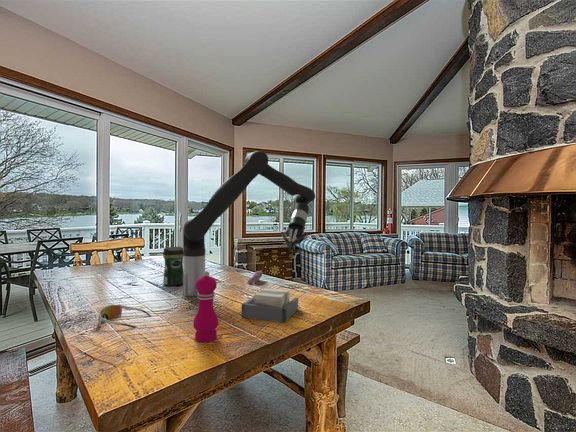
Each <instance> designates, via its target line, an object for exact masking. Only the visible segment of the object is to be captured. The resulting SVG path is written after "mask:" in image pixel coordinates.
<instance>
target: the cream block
mask: <svg viewBox="0 0 576 432" xmlns="http://www.w3.org/2000/svg"><path fill="white" fill-rule="evenodd" d="M253 297H254V305H262V306H270V307H279V308H284V307H285V306H286V305H287V304H288V303H289V302H290V290H288V289H278V288H269V287H264V288H262V289H261V290H260V291H258V292H257V293H254V294H253Z"/></svg>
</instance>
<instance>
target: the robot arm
mask: <svg viewBox="0 0 576 432" xmlns="http://www.w3.org/2000/svg"><path fill="white" fill-rule="evenodd" d="M258 175H260V176H261V177H264V178H265V179H267V180H268V181H270V182H271V183H273V184H274V185H276V186H277V187H278V188H280V189H281V190H282V191H284V192H285V193H287V194H288V195H289V196H295V198H294V209H293V211H292V214H291V217H290V220H289V224H288V226H287V227H288V228H286V230H285V231H280V234H281V236H282V238H283V240H284V242H285V243H286V244H287V245H286V249H287V251H288V252H292V251H294V250H295V247H296V246H295V245H300V244H301V243H302V242H304V241H305V240H306V239H308V233H307V232H305V227H306V224H307V221H308V220H307V219H308V215H309V210H310V207H309V205H308V204H310V203H311V202H313V201H314V200H315V199H316V194H315V192H314V190H313V189H311V188H310V187H308V186H306V185H304V184H301V183H298V182H297V181H295V180H294V179H293V178H291V177H290V176H289V175H287V174H286V173H283V172H281V171H280V170H277V169H276V168H274V167H272V166H271V165H270V164H269V157H268V155H267V153H266V152H264V151H260V150H256V151H252V152H250V153H248V154H247V155H246V156H245V158H244V165H243V166H242V167H241V168H240V169H239V170H238V171H237V172H235V173H233V175H232V176H230V177H228V179H226V180H225V181H224V182H223V183H222V184H221V185H220V186H219V187H218V188H217V189H216V190H215V192H213V194H212V196H211V197H210V198H209V200H208V202H207V204H206V205H205V206H204V207H203V209H202V210H201V211H200V212H199V213H198V214H197V215H196V216H194V217H193V218H192V219H189V220H188V219H187V220H186V222H185V223H184V225H183V227H182V228H183V230H182V231H183V233H182V234H183V238H182V239H183V245H182V248H183V251H184V257H183V284H182V294H183V296H184V297H198V295H197V294H198V293H199V292H198V291H197V289H196V282H197V280H198V279H199V278H201V277H203V273H204V272H205V271H206V244H205V237H206V234H207V233H208V232H209V230H210V229H211V227H212V226H213V225H214V223H215V222H216V221H217V220H218V218H219V217H220V216H222V215H223V214H224V213H225V212H226V211H228V209H229V208H230V207H231V206H232V205H233V204H234V203H235V202H236V200H237V199H238V198H239V197H240V196H241V195H242V193H244V191H245V189H247V187H248V186H249V184H251V182H252V181H254V179H255V178H256V177H257V176H258ZM287 236H288V237H287Z"/></svg>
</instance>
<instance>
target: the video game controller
mask: <svg viewBox="0 0 576 432" xmlns="http://www.w3.org/2000/svg"><path fill="white" fill-rule="evenodd" d="M263 274H264V273H263V271H260V270H257V271H255V273H254V275H252V277H251V278H249V279H248V280H247V284H248V285H252V284H257V282H259V281H260V279H261V278H262V276H263Z"/></svg>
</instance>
